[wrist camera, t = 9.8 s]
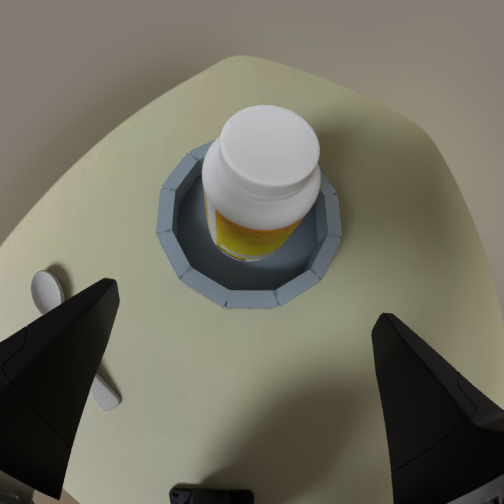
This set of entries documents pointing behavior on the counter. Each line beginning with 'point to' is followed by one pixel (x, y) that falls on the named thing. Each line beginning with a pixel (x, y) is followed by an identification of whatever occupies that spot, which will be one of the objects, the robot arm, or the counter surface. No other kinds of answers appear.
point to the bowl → (234, 271)
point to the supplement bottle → (260, 181)
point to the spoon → (47, 298)
